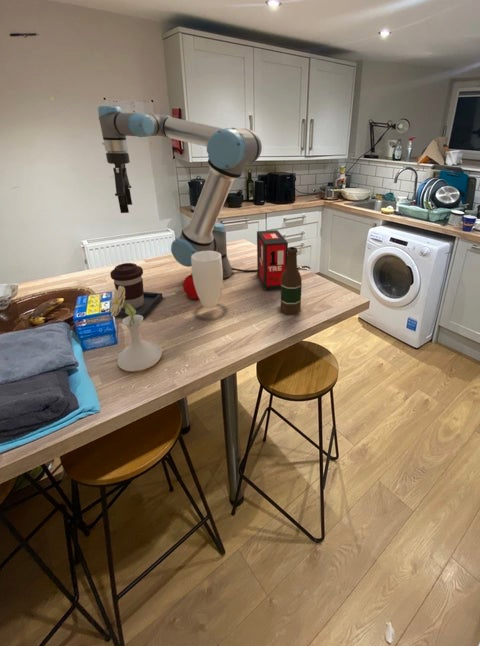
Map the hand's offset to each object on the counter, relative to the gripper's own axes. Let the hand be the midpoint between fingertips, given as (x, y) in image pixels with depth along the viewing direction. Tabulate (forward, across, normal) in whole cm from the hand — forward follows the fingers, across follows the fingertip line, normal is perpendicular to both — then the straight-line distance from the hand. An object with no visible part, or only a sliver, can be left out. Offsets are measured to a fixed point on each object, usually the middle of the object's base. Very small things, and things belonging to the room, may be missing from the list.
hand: (126, 208), depth 133 cm
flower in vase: (+29, +63, +5) cm, 69 cm away
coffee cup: (+28, +30, 0) cm, 41 cm away
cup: (+29, +40, +26) cm, 56 cm away
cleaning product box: (+29, +22, +54) cm, 65 cm away
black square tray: (+29, +30, +1) cm, 41 cm away
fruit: (+29, +27, +22) cm, 45 cm away
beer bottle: (+29, +47, +54) cm, 77 cm away
